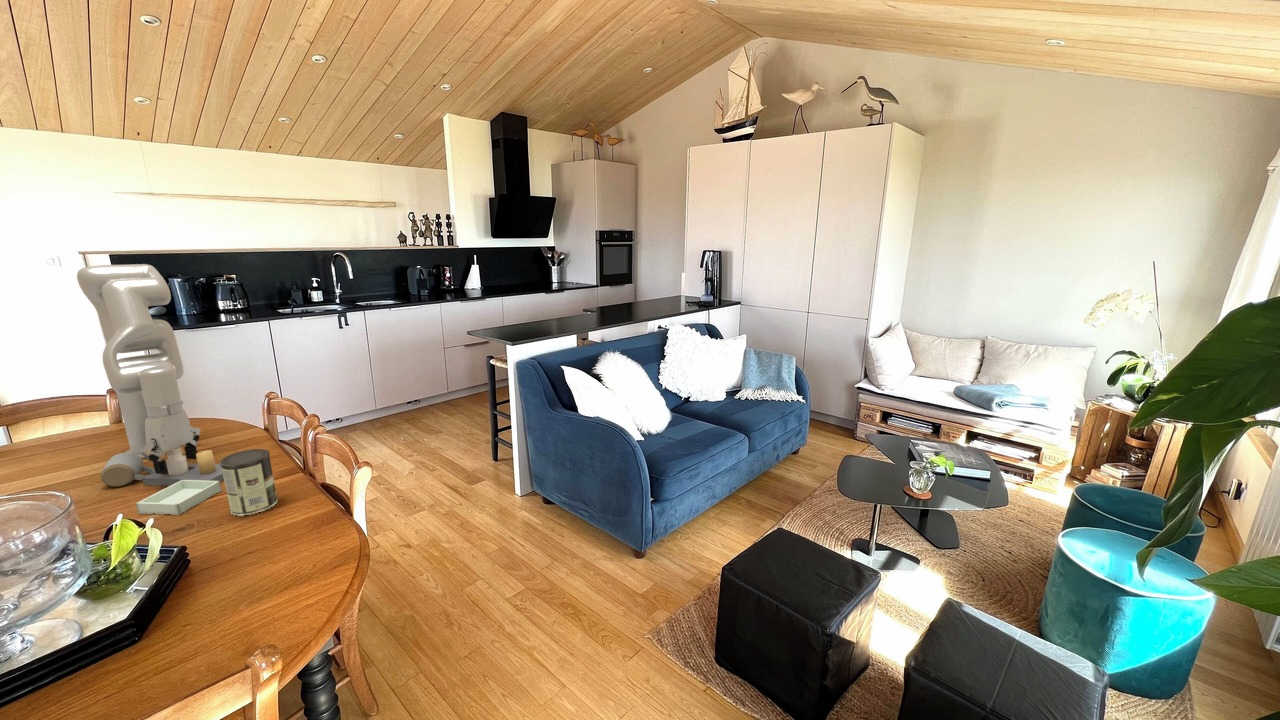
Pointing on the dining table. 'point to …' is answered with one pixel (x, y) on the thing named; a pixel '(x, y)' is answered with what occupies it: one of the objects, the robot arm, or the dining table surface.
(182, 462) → the small white bottle
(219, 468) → the socket block
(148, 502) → the tray
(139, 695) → the dining table surface
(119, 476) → the ceramic mug
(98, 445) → the dining table surface
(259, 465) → the coffee can
